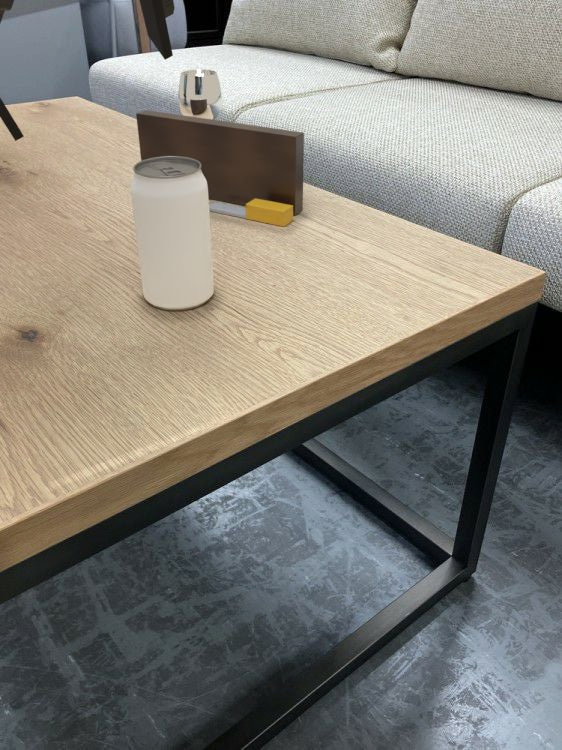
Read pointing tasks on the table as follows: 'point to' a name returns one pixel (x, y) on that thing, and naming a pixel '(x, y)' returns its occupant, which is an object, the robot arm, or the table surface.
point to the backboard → (230, 156)
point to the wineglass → (200, 94)
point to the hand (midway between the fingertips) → (87, 85)
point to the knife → (258, 211)
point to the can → (173, 232)
